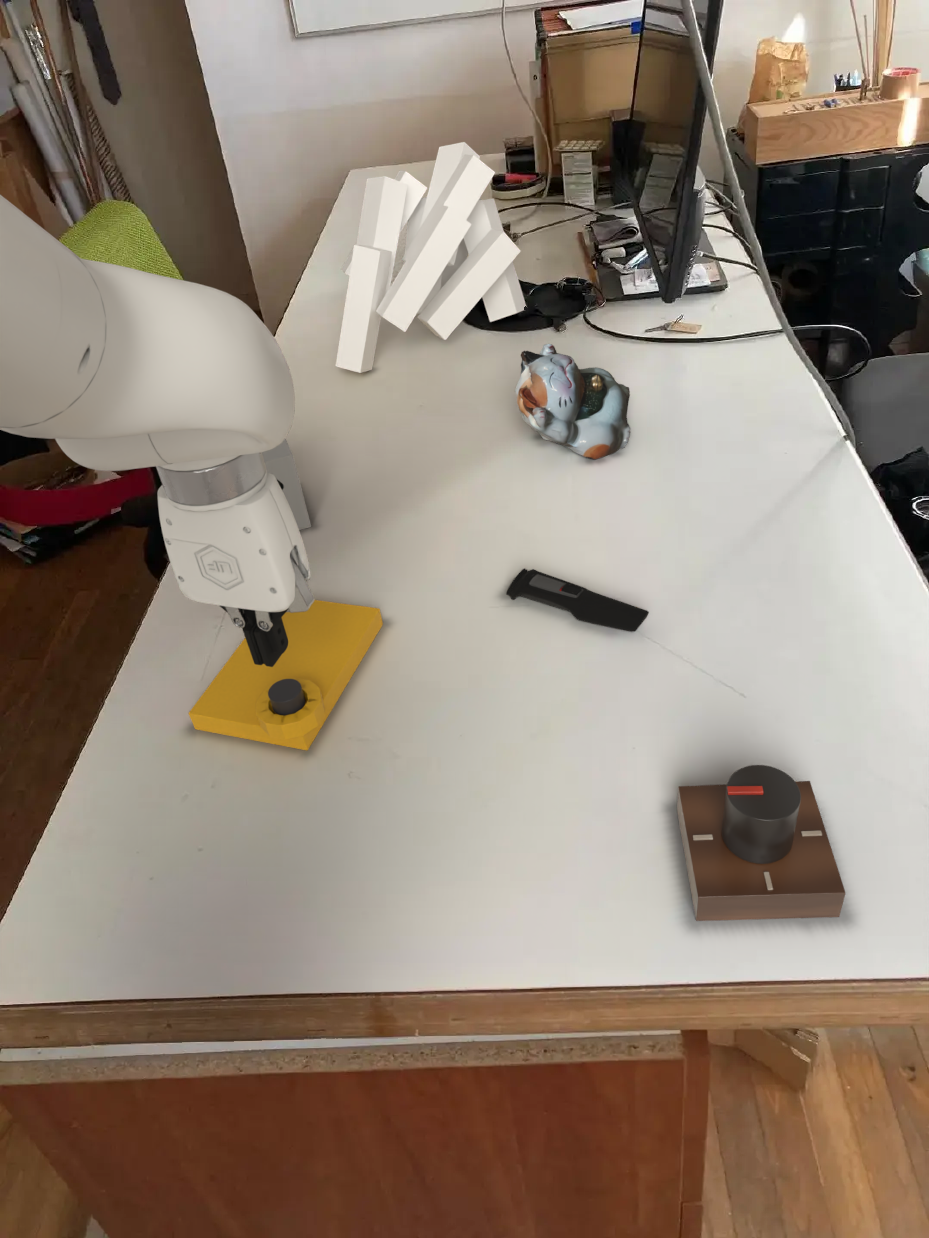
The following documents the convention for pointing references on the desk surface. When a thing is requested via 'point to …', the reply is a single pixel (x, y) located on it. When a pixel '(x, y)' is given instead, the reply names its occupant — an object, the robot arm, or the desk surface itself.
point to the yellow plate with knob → (290, 676)
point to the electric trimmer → (576, 600)
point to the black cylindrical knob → (286, 697)
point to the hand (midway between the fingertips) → (272, 654)
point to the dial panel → (750, 888)
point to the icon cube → (288, 481)
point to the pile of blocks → (427, 256)
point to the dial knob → (760, 813)
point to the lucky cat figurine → (573, 403)
